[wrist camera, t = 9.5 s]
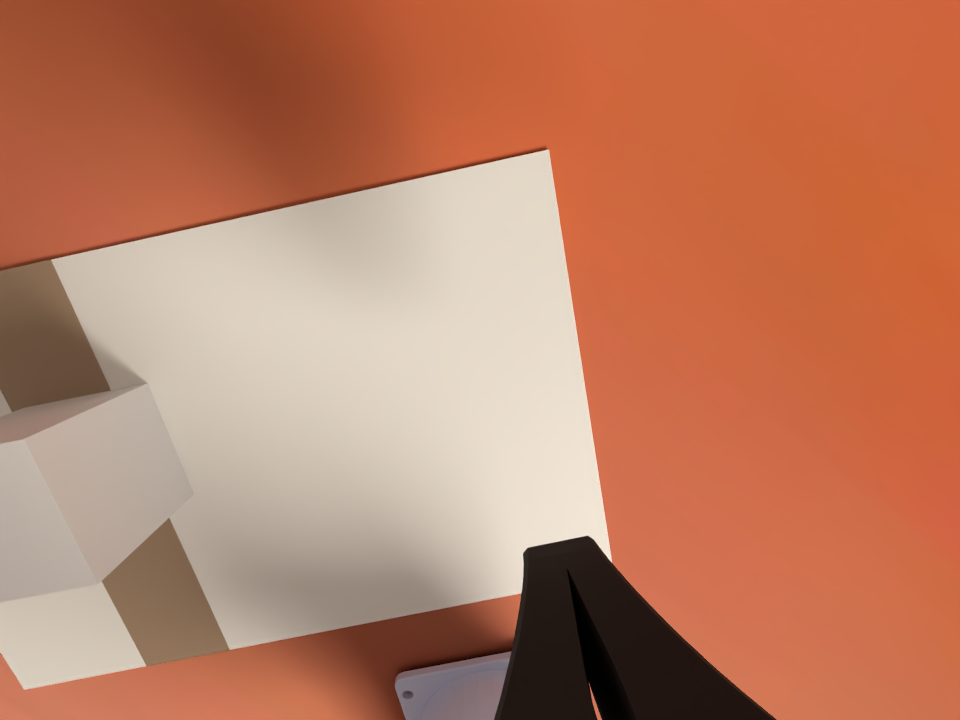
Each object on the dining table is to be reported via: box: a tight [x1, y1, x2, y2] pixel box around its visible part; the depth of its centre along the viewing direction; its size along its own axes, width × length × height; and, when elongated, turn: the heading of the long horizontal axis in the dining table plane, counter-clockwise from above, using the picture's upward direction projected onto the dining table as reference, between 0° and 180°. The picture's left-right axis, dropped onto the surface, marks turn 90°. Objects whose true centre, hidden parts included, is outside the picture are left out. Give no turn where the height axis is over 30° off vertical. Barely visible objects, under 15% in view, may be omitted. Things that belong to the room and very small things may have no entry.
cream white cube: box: [0, 383, 194, 603], centre depth 15 cm, size 5×5×5 cm
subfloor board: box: [0, 150, 612, 690], centre depth 18 cm, size 18×28×1 cm, turn 102°
